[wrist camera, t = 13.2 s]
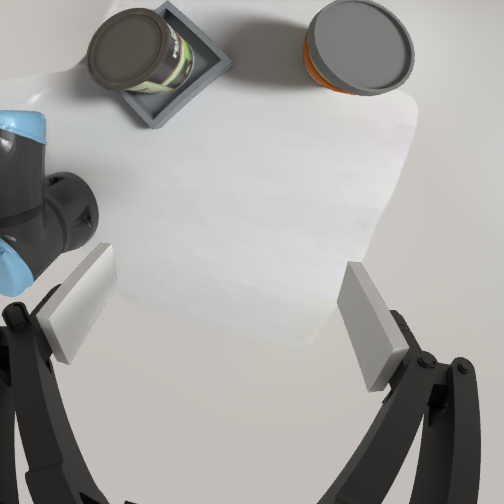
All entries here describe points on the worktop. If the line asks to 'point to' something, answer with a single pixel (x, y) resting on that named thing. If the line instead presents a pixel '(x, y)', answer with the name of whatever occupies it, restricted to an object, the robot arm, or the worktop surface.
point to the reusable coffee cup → (358, 48)
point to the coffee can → (139, 54)
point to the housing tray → (204, 72)
